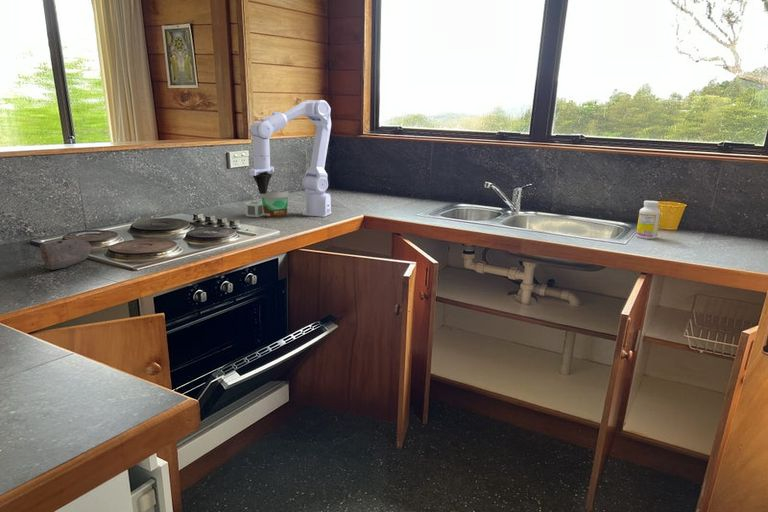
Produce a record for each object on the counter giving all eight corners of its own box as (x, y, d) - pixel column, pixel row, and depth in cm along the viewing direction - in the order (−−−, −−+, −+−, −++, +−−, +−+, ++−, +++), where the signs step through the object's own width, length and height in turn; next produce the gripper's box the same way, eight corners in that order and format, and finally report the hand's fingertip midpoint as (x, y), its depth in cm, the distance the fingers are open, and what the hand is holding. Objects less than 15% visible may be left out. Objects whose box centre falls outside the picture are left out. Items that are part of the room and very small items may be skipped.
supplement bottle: (645, 234, 190) (651, 199, 186) (660, 238, 184) (666, 202, 180) (631, 235, 187) (636, 200, 184) (646, 240, 181) (652, 203, 178)
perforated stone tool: (84, 257, 143) (81, 232, 141) (100, 259, 142) (97, 234, 140) (34, 272, 129) (30, 245, 127) (51, 274, 128) (47, 247, 126)
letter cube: (264, 215, 207) (263, 202, 206) (257, 217, 203) (257, 204, 201) (252, 214, 209) (251, 201, 207) (245, 216, 204) (245, 203, 202)
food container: (269, 219, 198) (269, 193, 195) (260, 217, 202) (259, 191, 199) (296, 216, 206) (296, 190, 204) (287, 213, 211) (286, 188, 208)
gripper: (261, 154, 196) (262, 190, 200) (241, 156, 183) (243, 195, 186) (278, 154, 195) (279, 191, 198) (259, 157, 181) (260, 196, 185)
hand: (263, 193), depth 192 cm, fingers closed
